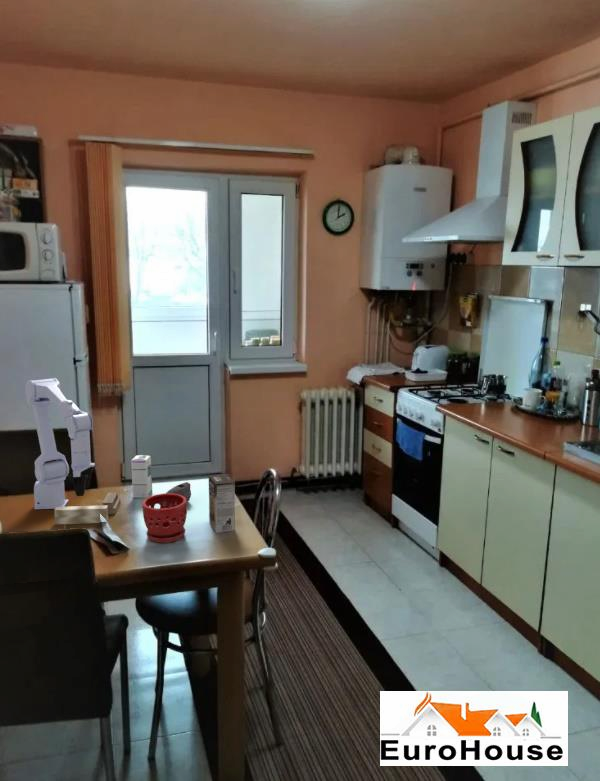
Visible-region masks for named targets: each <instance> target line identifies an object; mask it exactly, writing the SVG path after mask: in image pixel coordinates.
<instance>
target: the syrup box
mask: <svg viewBox="0 0 600 781" xmlns="http://www.w3.org/2000/svg"><path fill="white" fill-rule="evenodd" d="M130 462H131V482H132V498H136V499H147V498H148V497H151V496H152V494H153V477H152V476H153V475H152V474H153V473H152V472H153V471H152V456H151V455H145V454H140V455H138V454H137V455H135V456H134V457H133V458H132V459H131V460H130Z"/></svg>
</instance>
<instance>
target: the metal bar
mask: <svg viewBox="0 0 600 781" xmlns="http://www.w3.org/2000/svg"><path fill="white" fill-rule="evenodd" d="M53 510H54V525H72V524H73V525H76V524H80V525H81V524H101V523H100V514H101V515H102V516H103V517H104V518H105V519H106V521H107V522H108V521H109V514H108V505H102V504H101V505H80V506H79V505H77V506H76V505H75V506H64V507H56V509H53Z"/></svg>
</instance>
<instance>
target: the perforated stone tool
mask: <svg viewBox="0 0 600 781" xmlns="http://www.w3.org/2000/svg"><path fill="white" fill-rule="evenodd" d="M166 493H172V494H179V495H182V496H184V497H185V498H186V502H187V503H188V502H190V501H191V500H190V499H191V497H192V491H191V483H189V482H188V481H186V482H183V483H180V484H177V485H176V486H173V487H172V488H170V489H169V490H168V491H166ZM162 504H163V505H166V504H167V502H165V501H164V502H163V503H162ZM175 504H177V502H175ZM169 505H170V506H172V504H169Z"/></svg>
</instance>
